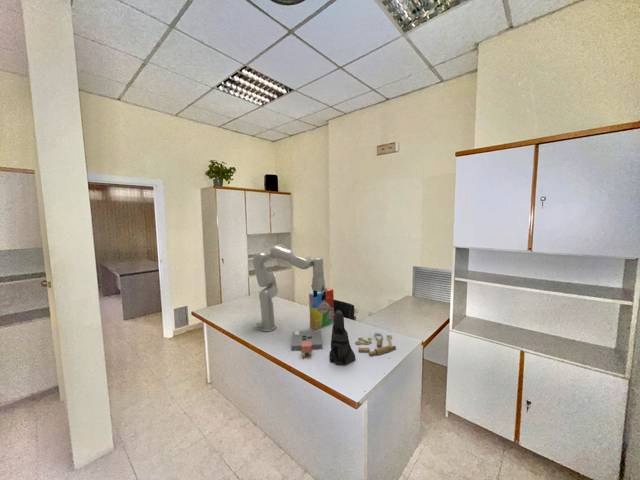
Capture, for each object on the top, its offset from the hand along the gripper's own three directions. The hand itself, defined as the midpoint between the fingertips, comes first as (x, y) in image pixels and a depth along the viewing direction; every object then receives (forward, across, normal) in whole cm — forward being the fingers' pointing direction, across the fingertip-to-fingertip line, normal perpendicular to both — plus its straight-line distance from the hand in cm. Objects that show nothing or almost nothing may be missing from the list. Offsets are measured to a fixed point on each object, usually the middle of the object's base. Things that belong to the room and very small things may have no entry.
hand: (319, 298), depth 181 cm
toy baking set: (+28, +35, +19) cm, 49 cm away
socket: (+26, +3, -14) cm, 30 cm away
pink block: (+27, +16, -23) cm, 39 cm away
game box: (+27, -11, +10) cm, 31 cm away
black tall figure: (+27, +33, -11) cm, 44 cm away
